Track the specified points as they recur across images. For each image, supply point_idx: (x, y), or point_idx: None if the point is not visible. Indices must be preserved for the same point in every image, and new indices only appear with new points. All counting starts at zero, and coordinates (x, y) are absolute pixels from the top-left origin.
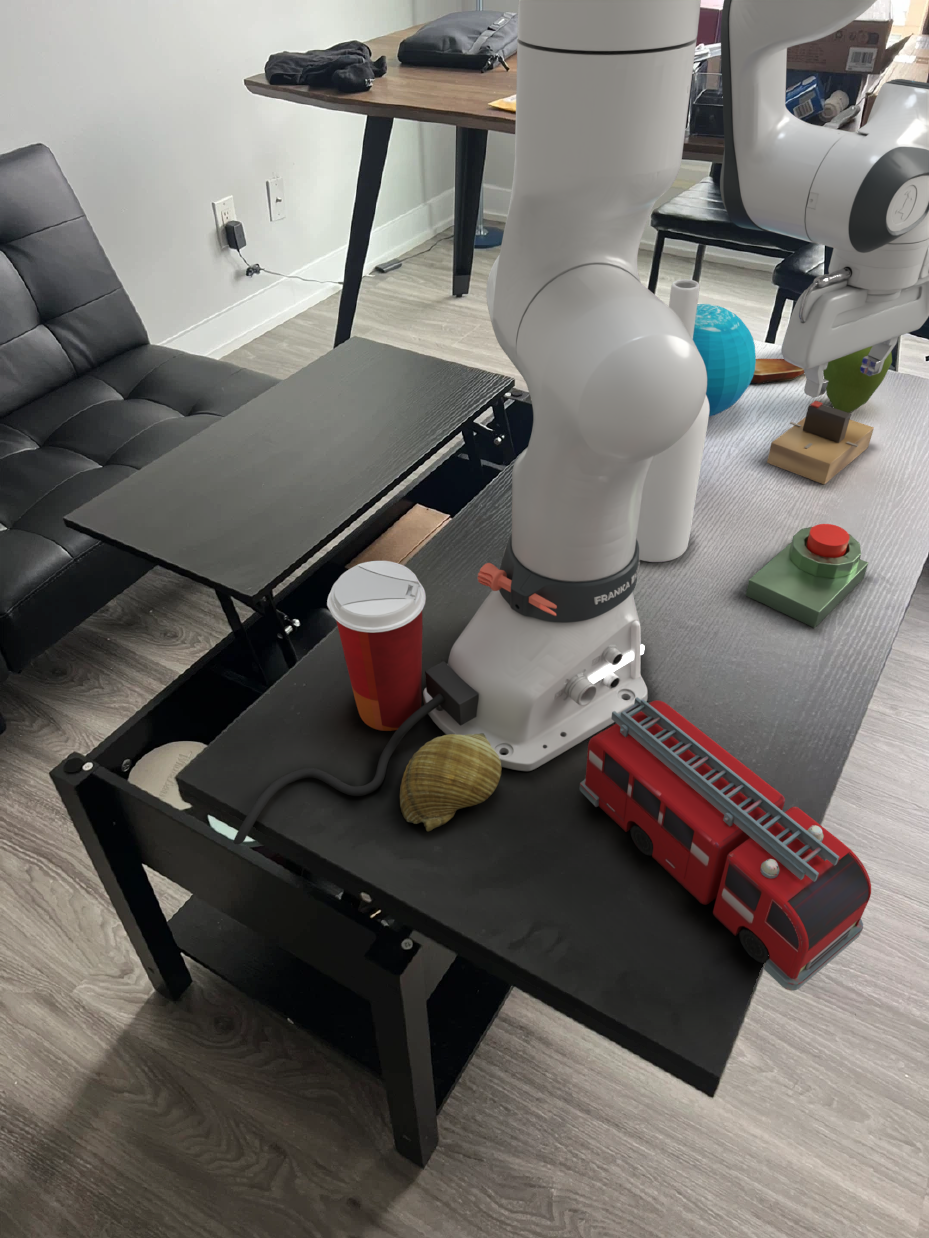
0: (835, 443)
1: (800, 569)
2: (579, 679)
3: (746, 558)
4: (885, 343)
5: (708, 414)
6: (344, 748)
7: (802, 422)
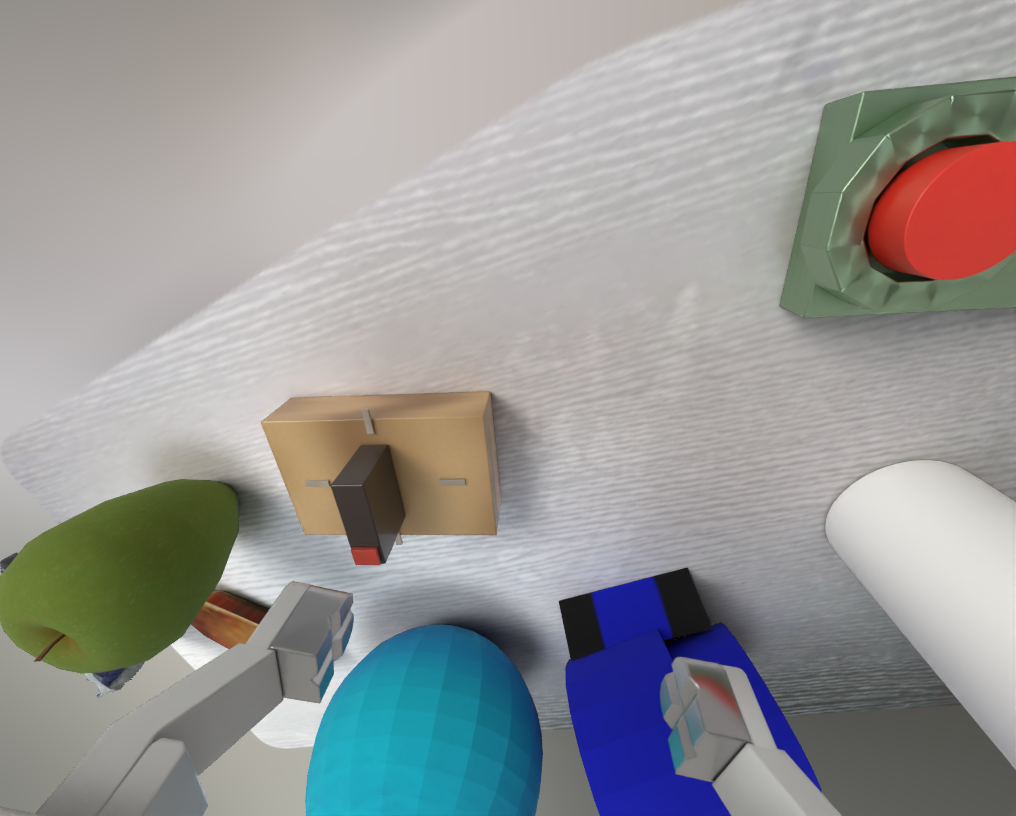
0: (394, 448)
1: None
2: None
3: (868, 366)
4: (187, 767)
5: None
6: None
7: None
